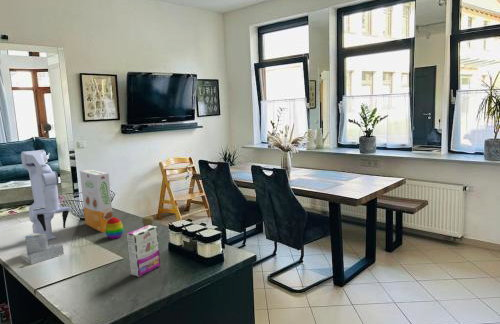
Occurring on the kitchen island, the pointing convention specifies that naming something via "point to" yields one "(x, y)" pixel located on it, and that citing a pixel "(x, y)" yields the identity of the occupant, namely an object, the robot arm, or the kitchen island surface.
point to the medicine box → (36, 243)
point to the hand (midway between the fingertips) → (54, 229)
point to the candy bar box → (143, 250)
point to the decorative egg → (114, 228)
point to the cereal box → (96, 198)
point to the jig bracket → (43, 254)
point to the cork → (147, 221)
